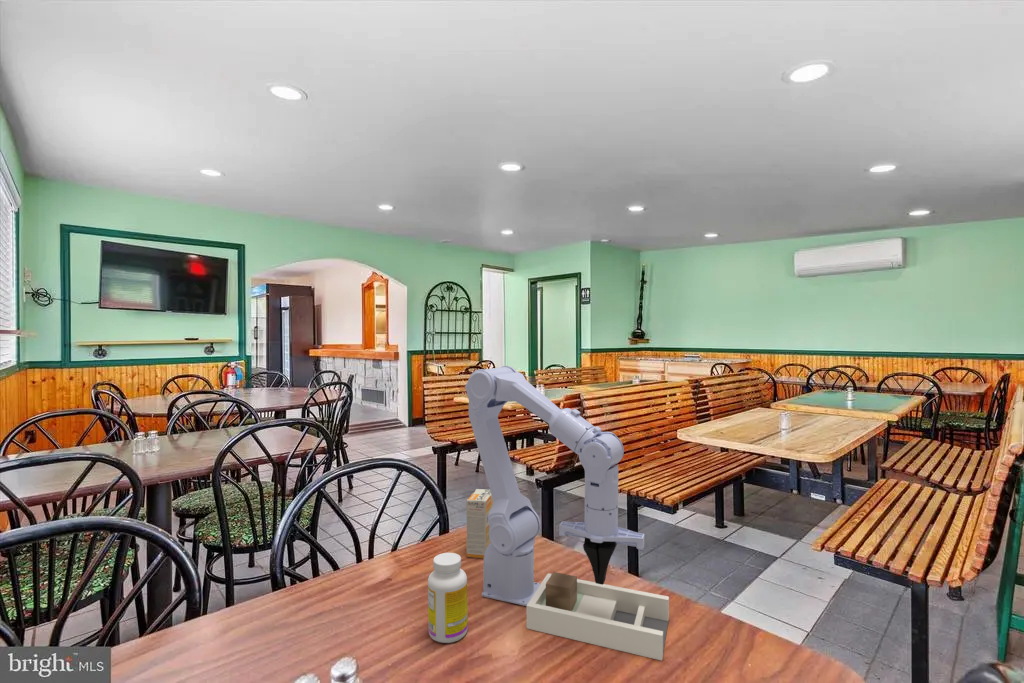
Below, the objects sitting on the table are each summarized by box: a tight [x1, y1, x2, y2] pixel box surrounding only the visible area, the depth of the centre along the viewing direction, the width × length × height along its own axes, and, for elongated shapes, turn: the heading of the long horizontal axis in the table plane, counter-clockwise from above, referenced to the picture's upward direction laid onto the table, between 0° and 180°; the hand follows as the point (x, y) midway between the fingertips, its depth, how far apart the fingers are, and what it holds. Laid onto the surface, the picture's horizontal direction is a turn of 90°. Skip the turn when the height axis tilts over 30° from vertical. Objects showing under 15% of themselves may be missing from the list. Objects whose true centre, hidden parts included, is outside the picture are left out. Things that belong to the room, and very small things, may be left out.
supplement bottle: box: [427, 552, 469, 644], centre depth 86 cm, size 7×7×13 cm
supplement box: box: [465, 488, 493, 560], centre depth 117 cm, size 8×5×13 cm, turn 168°
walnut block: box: [546, 571, 578, 611], centre depth 91 cm, size 4×4×4 cm
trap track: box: [526, 573, 670, 661], centre depth 89 cm, size 22×12×4 cm, turn 68°
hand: (600, 581), depth 88 cm, fingers closed
